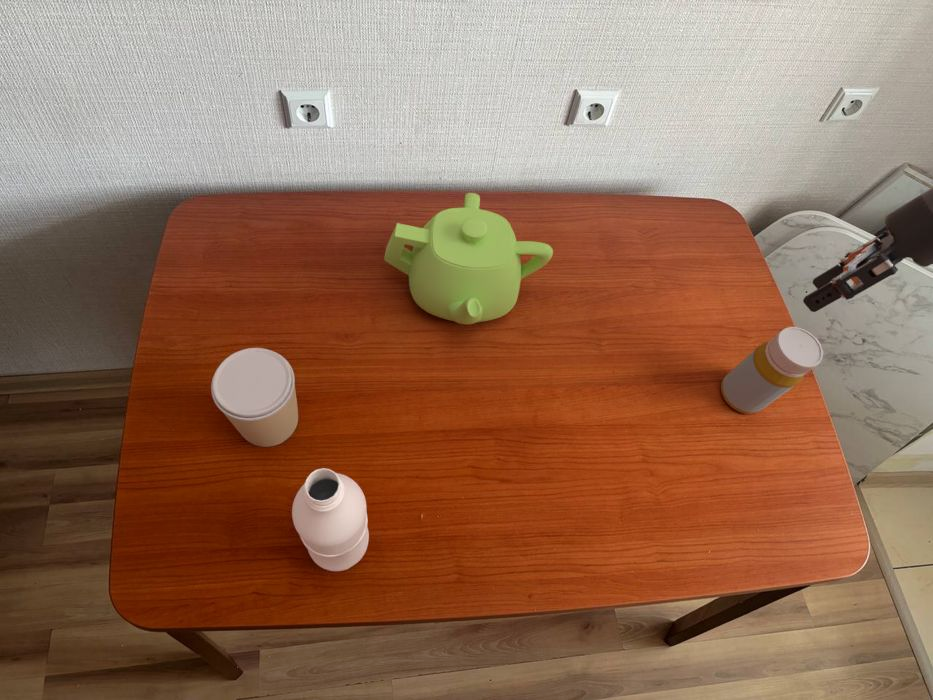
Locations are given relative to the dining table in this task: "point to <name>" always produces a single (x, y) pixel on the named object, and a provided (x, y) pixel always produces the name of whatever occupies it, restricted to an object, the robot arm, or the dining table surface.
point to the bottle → (771, 370)
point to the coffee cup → (257, 395)
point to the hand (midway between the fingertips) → (812, 295)
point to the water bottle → (331, 519)
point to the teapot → (464, 262)
